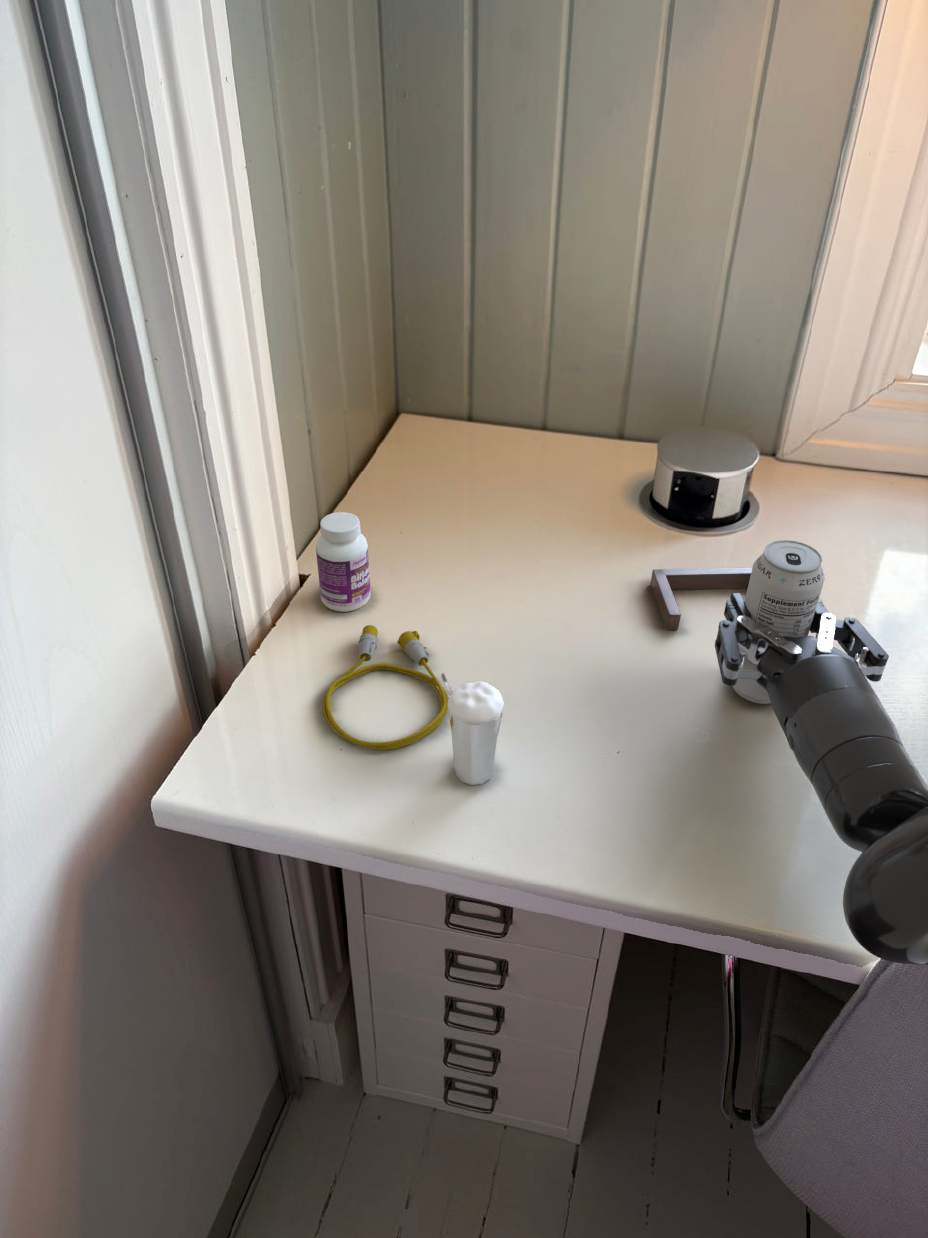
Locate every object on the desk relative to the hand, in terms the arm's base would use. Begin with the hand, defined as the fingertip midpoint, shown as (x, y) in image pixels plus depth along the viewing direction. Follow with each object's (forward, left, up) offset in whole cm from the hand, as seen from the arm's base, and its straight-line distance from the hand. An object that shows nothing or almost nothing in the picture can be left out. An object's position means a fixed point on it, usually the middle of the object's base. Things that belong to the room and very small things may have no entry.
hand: (768, 600), depth 85 cm
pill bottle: (+30, -29, -9) cm, 43 cm away
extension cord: (+32, -13, -9) cm, 36 cm away
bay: (-5, -10, -9) cm, 14 cm away
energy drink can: (+1, +2, -9) cm, 9 cm away
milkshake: (+30, -1, -9) cm, 32 cm away
